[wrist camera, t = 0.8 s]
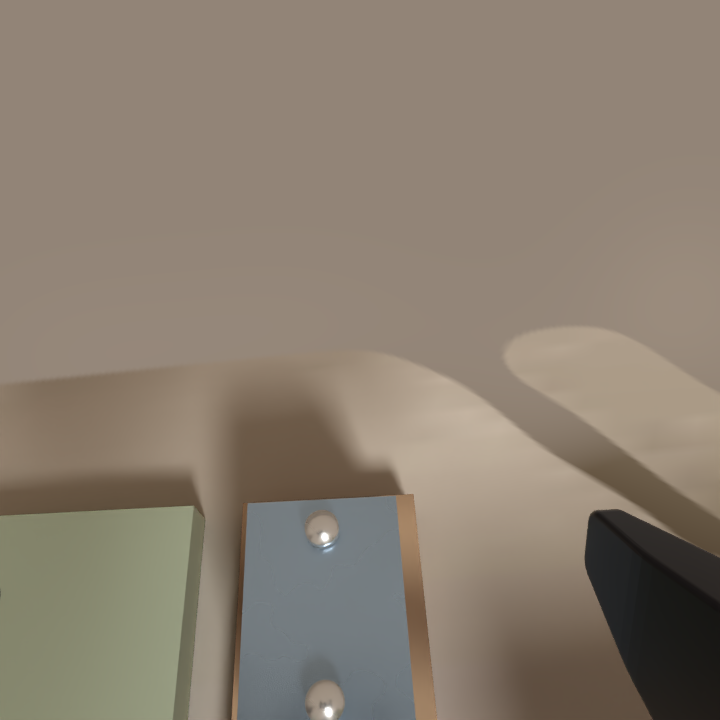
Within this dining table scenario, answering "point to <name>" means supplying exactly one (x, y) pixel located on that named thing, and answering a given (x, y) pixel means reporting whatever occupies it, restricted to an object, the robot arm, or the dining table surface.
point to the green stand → (99, 613)
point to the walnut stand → (414, 609)
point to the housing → (324, 613)
